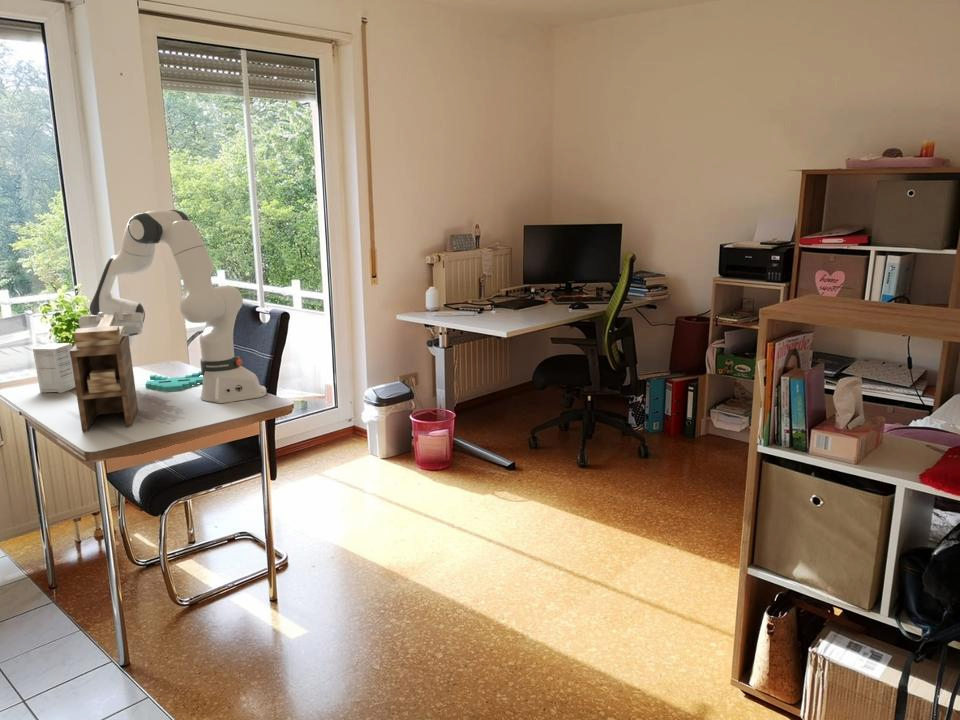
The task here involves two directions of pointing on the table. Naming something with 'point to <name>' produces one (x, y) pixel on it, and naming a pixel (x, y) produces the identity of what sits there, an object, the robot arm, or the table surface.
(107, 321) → the plywood board
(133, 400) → the walnut shelf
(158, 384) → the alien figure
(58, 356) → the supplement box
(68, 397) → the table surface
